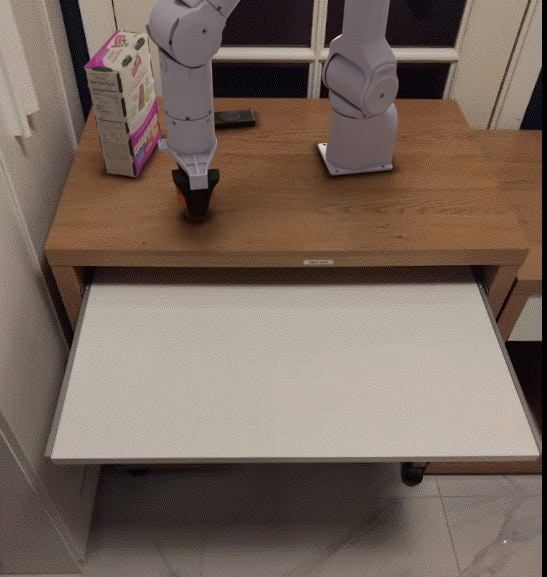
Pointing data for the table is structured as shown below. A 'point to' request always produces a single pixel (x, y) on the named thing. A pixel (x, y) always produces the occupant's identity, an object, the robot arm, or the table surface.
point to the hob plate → (233, 119)
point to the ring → (182, 201)
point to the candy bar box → (124, 102)
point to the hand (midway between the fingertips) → (195, 202)
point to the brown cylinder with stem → (194, 217)
